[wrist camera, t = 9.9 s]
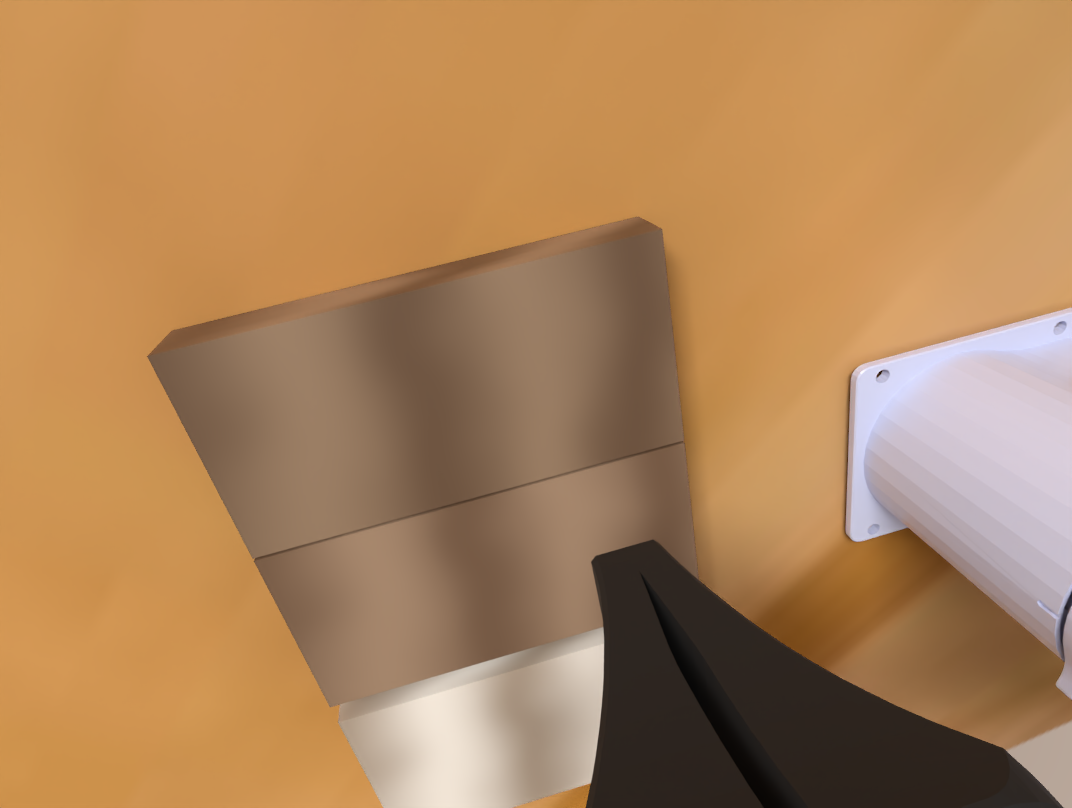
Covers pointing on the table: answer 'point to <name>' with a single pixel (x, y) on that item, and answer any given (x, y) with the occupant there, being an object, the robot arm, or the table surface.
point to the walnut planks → (445, 450)
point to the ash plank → (485, 729)
